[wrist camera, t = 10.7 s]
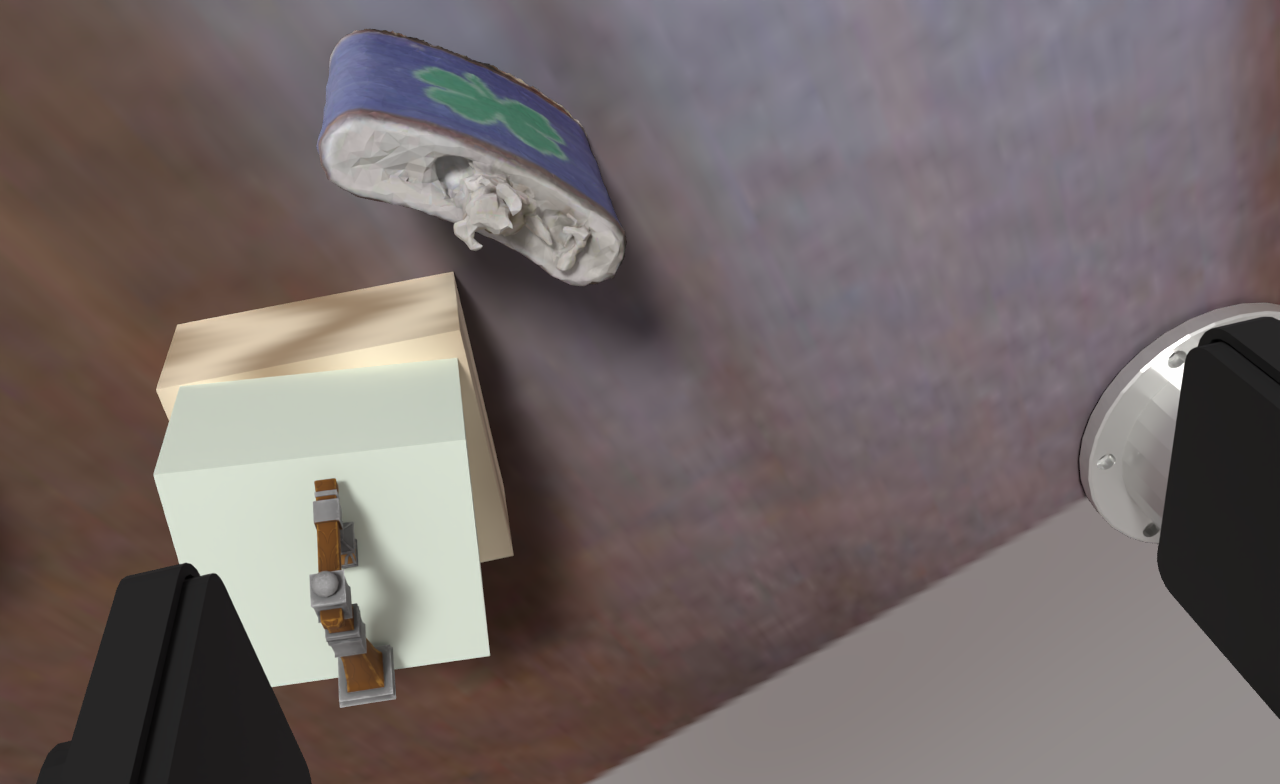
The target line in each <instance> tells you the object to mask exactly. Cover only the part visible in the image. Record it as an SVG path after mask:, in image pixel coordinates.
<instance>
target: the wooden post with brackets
mask: <svg viewBox="0 0 1280 784" xmlns="http://www.w3.org/2000/svg"><path fill="white" fill-rule="evenodd" d="M314 484H315V492H314V495H315V498H316V501H313V521H314V525H315V527H316V530H317V548H318V573H317V574H310V575H309V581H310V602H311V607H312V608H314V610H315V612H316V615H317V617H318V623H321V624H322V626H323V628H324V629H325V639H326V642H328V645H329V646H331V647H332V649H333V651H334V653H335V658H337V657H338V679H339V702H340V707H347V706H353V705H360V704H366V703H372V702H379V701H385V700H392V699H396V689H395V673H394V657H393V647H390V644H389V645H382V646H375V647H374V646H373V645H372V644H371V643H370V641H369V640H368V639H367V638H366V626H365V623H363V621H362V619H361V614H360V610H359V606H358V604H357V603H355V604H352V600H351V587H350V586H349V585H348V584H347V581H346V578H345V576H344V570H342V569H346V568H350V567H357V566H358V546H357V539H355V537H354V522H353V521H352V522H344V523H343V521H342V508H341V505H340V498H339V495H338V494H339V487H338V484H337V481H336V479H335V478H331V479H324V480H316V481H314Z"/></svg>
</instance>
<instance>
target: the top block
mask: <svg viewBox="0 0 1280 784" xmlns="http://www.w3.org/2000/svg"><path fill="white" fill-rule="evenodd" d="M153 475H154V479H155V482H156V485H157V489H158V492H159V496H160V499H161V502H162V506H163V509H164V513H165V516H166V519H167V523H168V526H169V530H170V533H171V536H172V540H173V543H174V547H175V550H176V553H177V557H178V560H179V563H180V564H183V563H190V564H192V565H193V566H194V567H195V568H196V569H197V570H198V572H199V574H200V576H202V575H206V574H211V573H215V574H217V575H218V576H219V577H220V578H221V580H222V581H223V583H224V585H225V587H226V589H227V591H228V594H229V596H230V598H231V600H232V602H233V605H234V607H235V609H236V611H237V613H238V615H239V618H240V620H241V622H242V624H243V626H244V629H245V631H246V633H247V635H248V637H249V639H250V642H251V644H252V646H253V648H254V650H255V652H256V655H257V657H258V659H259V661H260V663H261V666H262V668H263V670H264V672H265V674H266V676H267V679H268V681H269V683H270V685H271V687H275V686H282V685H289V684H296V683H303V682H310V681H317V680H324V679H331V678H338V657H337V658H335V653H334V651H333V649H332V647H331V646H329V645H328V642H326V639H325V629H324V628H323V626H322V624H321V623H318V617H317V615H316V612H315V610H314V608H312V607H311V602H310V581H309V575H310V574H317V573H318V548H317V530H316V527H315V525H314V521H313V501H316V498H315V495H314V492H315V484H314V481H316V480H324V479H331V478H335V479H336V481H337V484H338V487H339V494H338V495H339V498H340V505H341V508H342V521H343V523H344V522H352V521H353V522H354V537H355V539H357V546H358V566H357V567H350V568H346V569H342V570H344V576H345V578H346V581H347V584H348V585H349V586H350V587H351V600H352V604H355V603H357V604H358V606H359V610H360V614H361V619H362V621H363V623H365V626H366V638H367V639H368V640H369V641H370V643H371V644H372V645H373V646H374V647H375V646H382V645H389V644H390V647H393V657H394V669H401V668H408V667H415V666H422V665H429V664H437V663H444V662H451V661H458V660H465V659H472V658H479V657H486V656H490V651H489V641H488V631H487V622H486V612H485V603H484V593H483V583H482V574H481V564H480V555H479V546H478V537H477V528H476V520H475V511H474V502H473V493H472V484H471V475H470V466H469V457H468V449H467V440H466V431H465V422H464V413H463V404H462V395H461V386H460V378H459V369H458V360H457V358H450V359H440V360H430V361H421V362H411V363H401V364H391V365H382V366H372V367H362V368H352V369H343V370H333V371H323V372H314V373H304V374H294V375H284V376H275V377H265V378H255V379H245V380H236V381H226V382H216V383H206V384H197V385H187V386H180V387H179V391H178V394H177V397H176V401H175V404H174V407H173V411H172V414H171V418H170V421H169V424H168V428H167V431H166V434H165V438H164V441H163V444H162V448H161V451H160V454H159V458H158V461H157V464H156V468H155V471H154V474H153Z"/></svg>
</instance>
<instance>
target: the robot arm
mask: <svg viewBox="0 0 1280 784" xmlns="http://www.w3.org/2000/svg"><path fill="white" fill-rule="evenodd" d="M1079 463H1080V476H1081V482H1082V485H1083V488H1084V490H1085V493H1086V496H1087V498H1088V499H1089V501H1090V502H1091V503H1092V505H1093V506H1094V508H1095V509H1096V510H1097V512H1098V513H1099V514H1100V515H1101V516H1102V517H1103V518H1104V519H1105V520H1106V521H1107V522H1108V523H1109V525H1110V526H1111V527H1112V528H1114V529H1116V530H1117V531H1119V532H1121V533H1122V534H1124V535H1126V536H1127V537H1130V538H1133V539H1136V540H1139V541H1142V542H1147V543H1157V544H1159V546H1158V553H1157V562H1158V567H1159V572H1160V575H1161V578H1162V580H1163V582H1164V584H1165V586H1166V587H1167V589H1168V590H1169V592H1170V593H1171V594H1172V595H1173V596H1174V598H1175V599H1176V600H1177V601H1178V602H1179V604H1180V605H1181V606H1182V607H1183V608H1184V609H1185V610H1186V612H1187V613H1188V614H1189V615H1190V616H1191V617H1192V618H1193V620H1194V621H1195V622H1196V623H1197V624H1198V625H1199V627H1200V628H1201V629H1202V630H1203V631H1204V632H1205V634H1206V635H1207V636H1208V637H1209V638H1210V639H1211V640H1212V642H1213V643H1214V644H1215V645H1216V646H1217V647H1218V649H1219V650H1220V651H1221V652H1222V653H1223V654H1224V656H1225V657H1226V658H1227V659H1228V660H1229V661H1230V662H1231V663H1232V665H1233V666H1234V667H1235V668H1236V669H1237V671H1238V672H1239V673H1240V674H1241V675H1242V676H1243V677H1244V679H1245V680H1246V681H1247V682H1248V683H1249V684H1250V686H1251V687H1252V688H1253V689H1254V690H1255V691H1256V693H1257V694H1258V695H1259V696H1260V697H1261V698H1262V699H1263V701H1264V702H1265V703H1266V704H1267V705H1268V706H1269V708H1270V709H1271V710H1272V711H1273V712H1274V713H1275V714H1276V716H1277V717H1278V718H1279V719H1280V305H1277V304H1271V303H1244V304H1238V305H1233V306H1229V307H1224V308H1219V309H1215V310H1213V311H1210V312H1208V313H1205V314H1202V315H1200V316H1197V317H1195V318H1192V319H1190V320H1188V321H1186V322H1184V323H1182V324H1181V325H1179V326H1177V327H1175V328H1173V329H1172V330H1170V331H1168V332H1166V333H1165V334H1163V335H1162V336H1160V337H1159V338H1158V339H1156V340H1155V341H1154V342H1152V343H1151V344H1150V345H1148V346H1147V347H1146V348H1144V349H1143V350H1142V351H1141V352H1140V353H1139V354H1137V355H1136V356H1135V357H1134V358H1133V359H1132V360H1131V361H1130V362H1129V363H1128V364H1127V365H1126V366H1125V367H1124V368H1123V369H1122V370H1121V371H1120V372H1119V374H1118V375H1117V376H1116V377H1115V379H1114V380H1113V381H1112V383H1111V384H1110V385H1109V387H1108V388H1107V389H1106V390H1105V392H1104V393H1103V395H1102V396H1101V398H1100V400H1099V402H1098V404H1097V405H1096V407H1095V409H1094V411H1093V412H1092V414H1091V416H1090V419H1089V422H1088V425H1087V427H1086V430H1085V433H1084V436H1083V439H1082V445H1081V452H1080V458H1079ZM36 784H312V783H311V777H310V773H309V770H308V767H307V764H306V761H305V759H304V757H303V755H302V753H301V751H300V748H299V746H298V744H297V742H296V740H295V737H294V735H293V733H292V731H291V729H290V727H289V724H288V722H287V720H286V718H285V716H284V713H283V711H282V709H281V707H280V705H279V703H278V700H277V698H276V696H275V694H274V692H273V690H272V687H271V685H270V683H269V681H268V679H267V676H266V674H265V672H264V670H263V668H262V666H261V663H260V661H259V659H258V657H257V655H256V652H255V650H254V648H253V646H252V644H251V642H250V639H249V637H248V635H247V633H246V631H245V629H244V626H243V624H242V622H241V620H240V618H239V615H238V613H237V611H236V609H235V607H234V605H233V602H232V600H231V598H230V596H229V594H228V591H227V589H226V587H225V585H224V583H223V581H222V580H221V578H220V577H219V576H218V575H217V574H215V573H211V574H206V575H202V576H200V574H199V572H198V570H197V569H196V568H195V567H194V566H193V565H192V564H190V563H183V564H178V565H174V566H170V567H165V568H161V569H156V570H152V571H148V572H143V573H139V574H135V575H130V576H126V577H125V578H123V579H122V580H121V581H120V583H119V585H118V587H117V590H116V594H115V597H114V600H113V604H112V607H111V610H110V614H109V617H108V620H107V624H106V627H105V630H104V634H103V637H102V640H101V644H100V647H99V650H98V654H97V657H96V660H95V664H94V667H93V670H92V674H91V677H90V680H89V684H88V687H87V690H86V694H85V697H84V700H83V704H82V707H81V710H80V714H79V717H78V721H77V724H76V727H75V731H74V734H73V737H72V741H68V742H64V743H60V744H57V745H56V746H55V747H54V748H53V749H52V750H51V751H50V752H49V753H48V755H47V757H46V759H45V762H44V764H43V766H42V768H41V771H40V774H39V777H38V780H37V783H36Z"/></svg>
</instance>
